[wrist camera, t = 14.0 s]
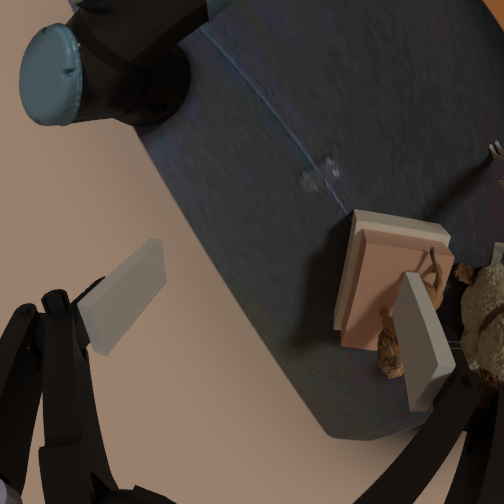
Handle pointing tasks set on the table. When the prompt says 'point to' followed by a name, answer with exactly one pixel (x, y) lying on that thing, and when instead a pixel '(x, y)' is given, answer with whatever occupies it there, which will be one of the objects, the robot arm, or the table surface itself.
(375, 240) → the stacked block pedestal
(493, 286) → the dog
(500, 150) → the human figurine
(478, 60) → the table surface
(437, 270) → the lion figurine
